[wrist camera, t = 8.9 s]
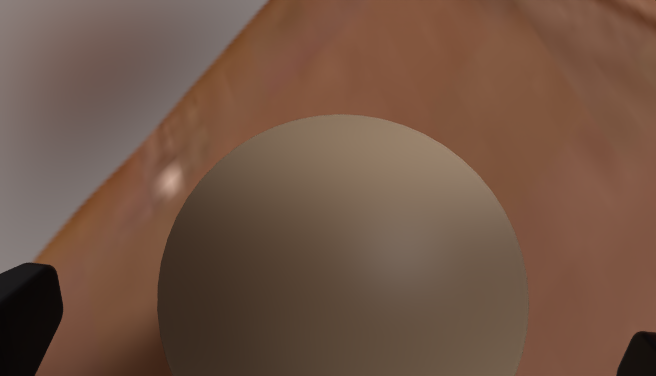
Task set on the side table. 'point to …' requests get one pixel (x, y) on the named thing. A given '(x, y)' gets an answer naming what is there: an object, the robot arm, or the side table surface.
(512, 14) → the side table surface
